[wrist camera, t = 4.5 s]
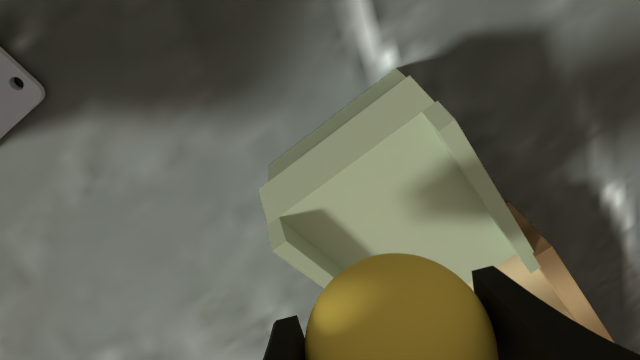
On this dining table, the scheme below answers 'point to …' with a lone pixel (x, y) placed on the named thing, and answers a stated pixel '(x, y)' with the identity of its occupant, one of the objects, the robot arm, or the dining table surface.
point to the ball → (399, 314)
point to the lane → (550, 279)
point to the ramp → (388, 190)
